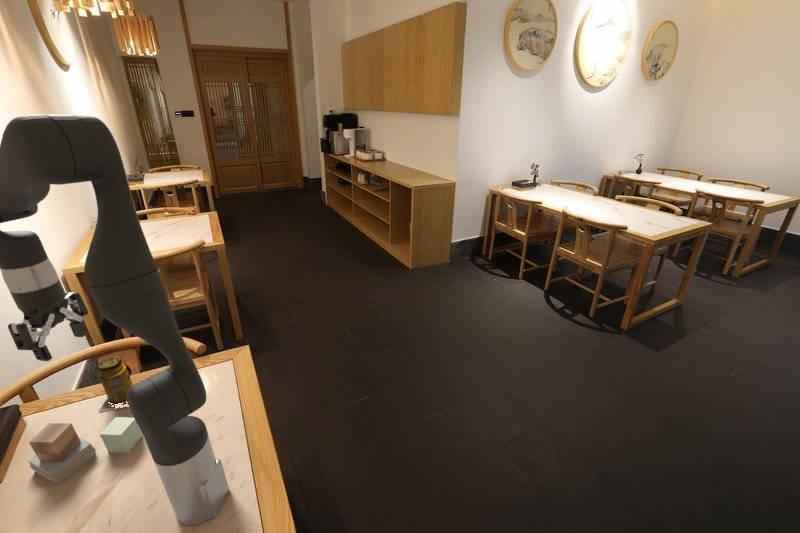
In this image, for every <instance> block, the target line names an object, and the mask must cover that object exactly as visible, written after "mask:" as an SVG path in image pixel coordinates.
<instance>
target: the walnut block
mask: <svg viewBox="0 0 800 533" xmlns="http://www.w3.org/2000/svg"><path fill="white" fill-rule="evenodd" d="M79 438H80V437H79V435H78V433H77V432H76V430H75V427H74V426H73V424H72V423H70V422H67V423H66V422H65V423H63V422H61V423H59V422H58V423H55V422H51V423H50V422H49V423H48V424H47V425H46V426H45V427H44V428H42V429H41V430H40V431H39V432H38V433H37V434H36V435H35V436H33V437H32V439H30V441H29V442H28V443H29V445H30V447H31V448H32V451H33V452H34V454H35V456H36V455H37V457H38V459H39V460H40V462H50V461H64V460H65V459H66V458H67V457H68V456H69V454H70V453H71V452H72V451H73V450H74V449H75V448H76V447H77V446H78V445H79V444H80V443H81V441H80V439H79Z"/></svg>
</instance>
